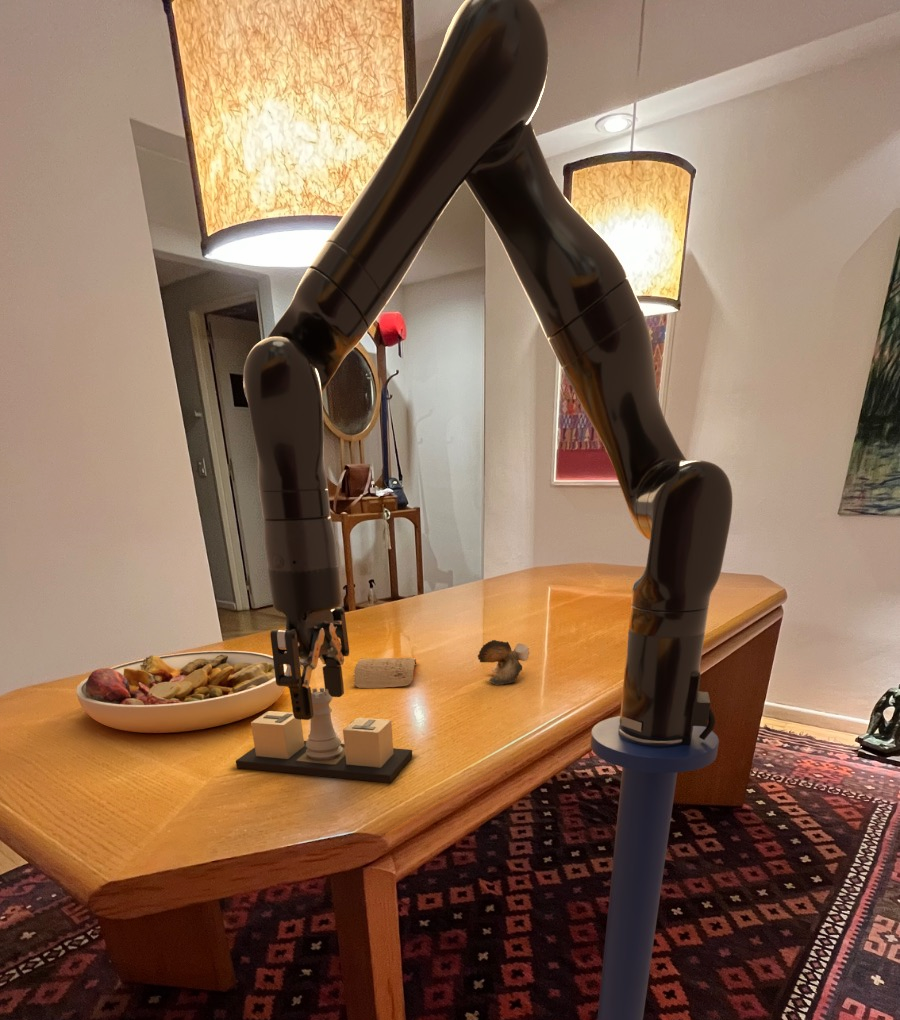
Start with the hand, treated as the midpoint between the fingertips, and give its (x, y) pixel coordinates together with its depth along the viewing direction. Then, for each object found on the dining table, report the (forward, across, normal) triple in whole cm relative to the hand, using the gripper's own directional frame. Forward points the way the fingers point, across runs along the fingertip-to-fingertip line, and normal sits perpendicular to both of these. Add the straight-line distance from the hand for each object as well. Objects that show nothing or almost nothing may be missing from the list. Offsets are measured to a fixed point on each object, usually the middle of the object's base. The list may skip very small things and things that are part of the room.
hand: (320, 706), depth 80 cm
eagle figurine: (+8, +41, -14) cm, 44 cm away
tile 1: (+6, 0, +6) cm, 9 cm away
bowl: (+7, +16, +30) cm, 35 cm away
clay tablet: (+8, +38, +6) cm, 39 cm away
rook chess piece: (+6, 0, 0) cm, 6 cm away
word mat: (+7, 0, 0) cm, 7 cm away
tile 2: (+6, 0, -6) cm, 9 cm away
